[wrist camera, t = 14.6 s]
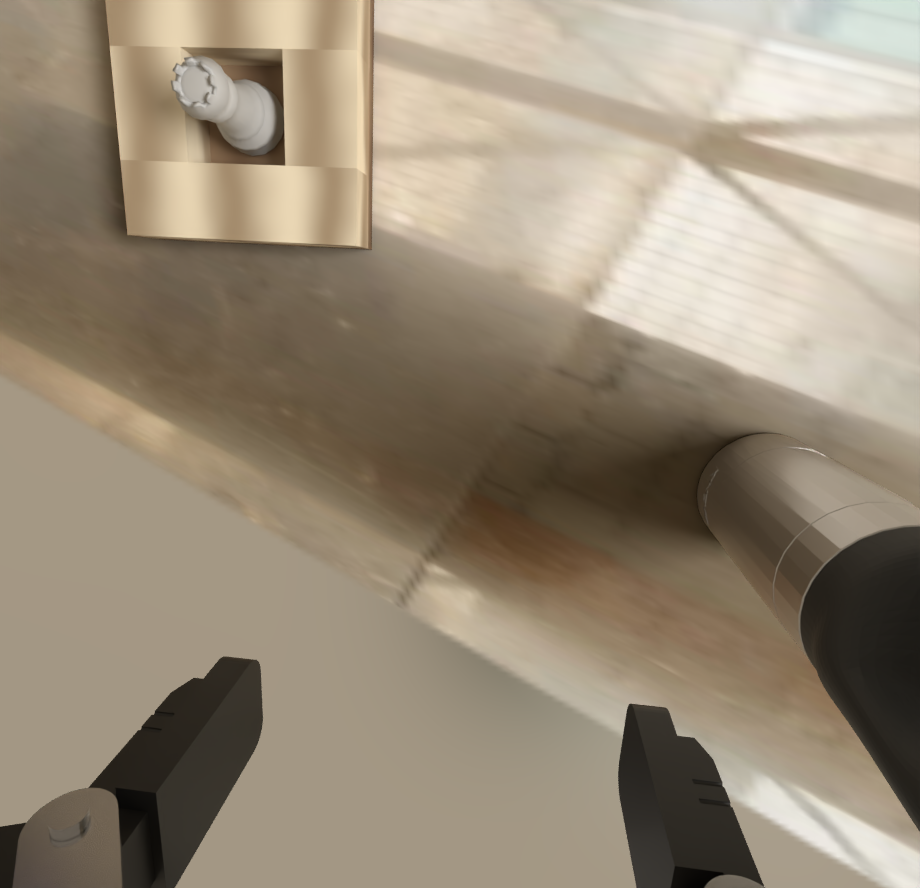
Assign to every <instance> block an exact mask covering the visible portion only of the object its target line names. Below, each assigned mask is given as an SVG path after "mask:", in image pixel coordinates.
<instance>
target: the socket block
mask: <svg viewBox="0 0 920 888" xmlns="http://www.w3.org/2000/svg"><path fill="white" fill-rule="evenodd" d="M105 3H106V13H107V24H108V34H109V45H110V56H111V66H112V77H113V87H114V98H115V108H116V119H117V129H118V140H119V150H120V161H121V171H122V182H123V192H124V203H125V214H126V224H127V235H132V236H140V237H147V238H155V239H163V240H184V241H205V242H225V243H246V244H267V245H288V246H308V247H329V248H350V249H370V250H372V154H373V55H374V0H105ZM201 55H202V56H205V57H208V58H211V59H213V60H214V61H215V62H216V63H217V64H219V65H220V66H221V67H222V69H223V71H224V73H225V74H226V75H227V76H228V77H230V78H231V79H232V81H236V80H243V79H247V80H250V81H254V82H257V83H260V84H261V85H262V86H265V87H266V88H268V89H269V90H270V91H271V92H272V93H273V94H274V95H276V97H277V99H278V101H279V102H280V104H281V106H282V108H283V114H284V130H283V135H282V138H281V139H280V141H279V142H278V144H277V145H276V147H275V148H274V149H272V150H271V151H269V152H267V153H266V154H264V155H256V156H251V155H248V154H245V153H242V152H240V151H239V150H238V149H236V148H234V147H233V146H232V145H231V144H230V143H228V142H227V141H226V140H225V139H224V137H223V136H222V134H221V132H220V130H219V129H218V127H217V125H216V123H214V122H211V121H208V120H200V119H197V118H194V117H191V116H190V115H189V114H188V113H187V112H185V111H184V110H183V109H182V107H181V105H180V103H179V102H178V100H177V98H176V93H175V91H173V90H172V85H171V80H172V81H175V77H176V73H175V72H173V71H172V70H173V68H174V67H175V65H176V63H178V64H179V65H181V64H182V63H183V62H184V61H185V60H184V58H186V57H194V56H201Z"/></svg>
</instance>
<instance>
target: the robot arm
mask: <svg viewBox="0 0 920 888" xmlns="http://www.w3.org/2000/svg"><path fill="white" fill-rule="evenodd" d="M697 502H698V508H699V512H700V514H701V517H702V519H703V521H704V523H705V524H706V525H707V527H708V528H709V529H710V531H711V532H712V533H713V535H714V536H715V537H716V539H717V540H718V541H719V543H720V544H721V546H722V547H723V548H724V550H725V551H726V552H727V554H728V555H729V556H730V558H731V559H732V560H733V562H734V563H735V564H736V566H737V567H738V568H739V569H740V571H741V572H742V573H743V575H744V576H745V577H746V579H747V580H748V581H749V583H750V584H751V585H752V586H753V588H754V589H755V590H756V592H757V593H758V594H759V596H760V597H761V598H762V600H763V601H764V602H765V604H766V605H767V606H768V607H769V609H770V610H771V611H772V613H773V614H774V615H775V617H776V618H777V619H778V621H779V622H780V623H781V624H782V626H783V627H784V628H785V630H786V631H787V632H788V633H789V635H790V636H791V637H792V639H793V640H794V641H795V642H796V644H797V645H798V646H799V648H800V649H801V650H802V652H803V653H804V654H805V656H806V657H807V658H808V659H809V661H810V662H811V663H812V665H813V666H814V667H815V668H816V670H817V673H818V676H819V678H820V680H821V682H822V684H823V686H824V688H825V689H826V691H827V693H828V694H829V696H830V697H831V699H832V700H833V701H834V703H835V704H836V706H837V707H838V709H839V710H840V711H841V713H842V714H843V715H844V717H845V718H846V720H847V721H848V722H849V724H850V725H851V727H852V728H853V730H854V731H855V733H856V734H857V736H858V737H859V739H860V740H861V742H862V743H863V745H864V746H865V748H866V749H867V751H868V752H869V754H870V755H871V757H872V758H873V760H874V761H875V763H876V765H877V766H878V768H879V769H880V771H881V772H882V774H883V776H884V777H885V779H886V780H887V782H888V783H889V785H890V786H891V788H892V790H893V791H894V793H895V794H896V796H897V797H898V799H899V801H900V802H901V804H902V805H903V807H904V808H905V810H906V811H907V813H908V815H909V816H910V818H911V819H912V821H913V822H914V824H915V825H916V827H917V828H918V830H919V831H920V509H919V508H917V507H915V506H914V505H913V504H912V503H911V502H910V501H908V500H906V499H904V498H902V497H901V496H899V495H897V494H895V493H893V492H892V491H890V490H888V489H886V488H884V487H883V486H881V485H879V484H877V483H875V482H874V481H872V480H870V479H868V478H866V477H865V476H863V475H861V474H859V473H857V472H856V471H854V470H852V469H850V468H848V467H847V466H845V465H843V464H841V463H839V462H838V461H836V460H834V459H832V458H828V457H827V456H825V455H823V454H821V453H820V452H818V451H816V450H814V449H812V448H810V447H808V446H807V445H805V444H803V443H801V442H799V441H797V440H796V439H794V438H791V437H788V436H784V435H781V434H770V433H763V434H754V435H750V436H747V437H743V438H740V439H738V440H736V441H734V442H732V443H730V444H728V445H726V446H725V447H724V448H723V449H721V450H720V451H719V452H718V453H717V454H715V456H714V457H713V458H712V459H711V460H710V462H709V463H708V464H707V466H706V467H705V469H704V471H703V473H702V475H701V478H700V481H699V485H698V490H697ZM262 722H263V712H262V691H261V670H260V664H259V662H258V661H257V660H251V659H243V658H233V657H222V658H221V659H219V661H218V662H217V663H216V664H215V665H214V667H213V668H212V669H211V670H210V671H209V673H208V674H207V675H206V676H205V678H204V679H199V678H193V679H191V680H190V681H188V682H187V683H185V684H184V685H182V686H181V687H179V688H178V689H176V690H174V691H173V692H171V693H170V695H169V696H168V697H167V698H166V699H165V700H164V701H163V703H162V704H161V705H160V706H159V707H158V708H157V709H156V711H155V714H154V715H151V716H150V717H149V719H148V720H147V721H146V722H145V723H144V724H143V726H142V729H141V730H138V731H137V733H136V734H135V735H134V736H133V737H132V738H131V739H130V740H129V742H128V743H127V744H126V745H125V746H124V748H123V749H122V750H121V751H120V752H119V753H118V755H116V757H115V758H114V759H113V760H112V761H111V762H110V764H109V765H108V766H107V767H106V768H105V769H104V770H103V772H102V773H101V774H100V775H99V776H98V777H97V778H96V780H95V781H94V782H93V783H92V784H91V785H90V787H89V788H85V789H79V790H75V791H72V792H69V793H67V794H64V795H62V796H60V797H58V798H56V799H54V800H52V801H51V802H49V803H48V804H46V805H45V806H43V807H42V808H41V809H39V810H38V811H37V812H36V813H35V814H34V815H33V816H32V817H31V818H30V819H29V820H28V821H27V823H22V824H15V825H9V826H3V827H0V888H175V886H176V884H177V883H178V881H179V879H180V878H181V876H182V874H183V873H184V871H185V869H186V867H187V866H188V864H189V862H190V860H191V859H192V857H193V855H194V854H195V852H196V850H197V849H198V847H199V845H200V843H201V842H202V840H203V838H204V836H205V835H206V833H207V831H208V830H209V828H210V826H211V824H212V823H213V821H214V819H215V817H216V816H217V814H218V812H219V811H220V809H221V807H222V805H223V804H224V802H225V800H226V799H227V797H228V795H229V793H230V791H231V790H232V788H233V786H234V785H235V783H236V781H237V780H238V778H239V776H240V774H241V772H242V771H243V769H244V768H245V766H246V764H247V762H248V761H249V759H250V757H251V755H252V754H253V752H254V750H255V748H256V746H257V744H258V741H259V738H260V734H261V730H262ZM618 781H619V783H618V784H619V795H620V801H621V807H622V812H623V817H624V823H625V828H626V834H627V839H628V844H629V849H630V855H631V860H632V865H633V870H634V876H635V881H636V887H637V888H765V887H764V885H763V883H762V880H761V878H760V876H759V873H758V870H757V868H756V865H755V863H754V860H753V858H752V855H751V853H750V850H749V848H748V845H747V843H746V840H745V838H744V835H743V833H742V831H741V828H740V825H739V823H738V821H737V818H736V815H735V813H734V810H733V808H732V807H731V806H730V800H729V798H728V795H727V793H726V790H725V788H724V787H723V786H722V780H721V778H720V775H719V773H718V770H717V768H716V765H715V763H714V760H713V759H712V758H711V756H710V755H709V754H708V753H707V752H706V751H705V750H704V748H703V747H702V746H701V745H700V744H699V743H698V742H697V740H696V739H695V738H690V737H682V736H677V734H676V731H675V728H674V725H673V722H672V719H671V716H670V713H669V711H668V709H667V708H664V707H655V706H646V705H638V704H629V706H628V709H627V714H626V720H625V727H624V734H623V740H622V747H621V754H620V760H619V771H618Z"/></svg>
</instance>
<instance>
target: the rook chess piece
mask: <svg viewBox="0 0 920 888" xmlns="http://www.w3.org/2000/svg"><path fill="white" fill-rule="evenodd" d="M184 60H185V61H184V62H183V63H182V64H181V65H179V64H178V63H176V65H175V67H174V68H173V70H172V71H173V72H175V73H176V77H175V81H172V80H171V85H172V90H173V91H175V93H176V98H177V100H178V102H179V103H180V105H181V107H182V109H183V110H184V111H185V112H187V113H188V114H189V115H190V116H191V117H194V118H197V119H200V120H208V121H211V122H214V123H216V125H217V127H218V129H219V130H220V132H221V134H222V136H223V137H224V139H225V140H226V141H227V142H228V143H230V144H231V145H232V146H233V147H234V148H236V149H238V150H239V151H240V152H242V153H245V154H248V155H251V156H256V155H264V154H266V153H267V152H269V151H271V150H272V149H274V148H275V147H276V145H277V144H278V142H279V141H280V139H281V138H282V135H283V130H284V114H283V108H282V106H281V104H280V102H279V101H278V99H277V97H276V95H274V94H273V93H272V92H271V91H270V90H269V89H268V88H266V87H265V86H262V85H261V84H260V83H257V82H254V81H250V80H247V79H243V80H236V81H232V79H231V78H230V77H228V76H227V75H226V74H225V73H224V71H223V69H222V67H221V66H220V65H219V64H217V63H216V62H215V61H214V60H213V59H211V58H208V57H205V56H202V55H201V56H194V57H186V58H184Z"/></svg>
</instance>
